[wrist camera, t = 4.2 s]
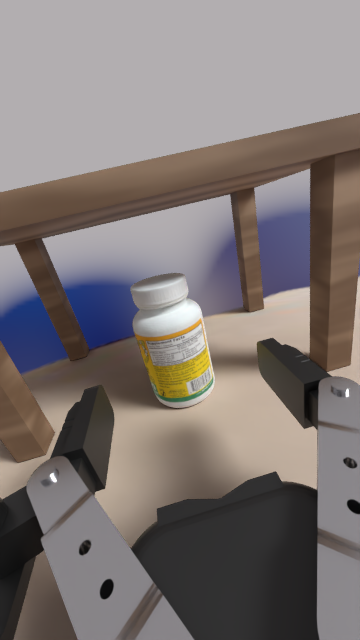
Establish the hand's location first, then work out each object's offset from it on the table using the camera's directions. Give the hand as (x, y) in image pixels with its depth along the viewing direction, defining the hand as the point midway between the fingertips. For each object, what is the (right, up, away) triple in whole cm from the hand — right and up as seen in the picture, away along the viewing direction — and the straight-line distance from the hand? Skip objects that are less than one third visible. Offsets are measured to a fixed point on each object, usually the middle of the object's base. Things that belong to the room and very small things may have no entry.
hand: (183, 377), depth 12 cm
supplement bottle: (0, -3, +9) cm, 9 cm away
